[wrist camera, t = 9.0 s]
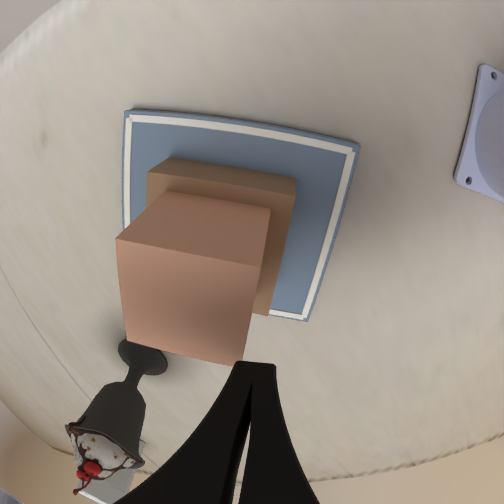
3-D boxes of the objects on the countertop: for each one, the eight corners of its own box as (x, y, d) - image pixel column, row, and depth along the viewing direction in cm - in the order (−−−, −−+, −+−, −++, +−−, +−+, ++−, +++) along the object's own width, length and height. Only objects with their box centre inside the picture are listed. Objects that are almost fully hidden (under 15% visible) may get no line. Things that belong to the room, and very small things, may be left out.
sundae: (149, 325, 24) (75, 491, 12) (189, 376, 27) (145, 525, 14) (97, 336, 26) (25, 469, 13) (137, 381, 29) (87, 506, 16)
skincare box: (101, 427, 38) (73, 490, 27) (111, 422, 36) (82, 491, 26) (134, 446, 39) (111, 509, 29) (146, 443, 38) (123, 511, 27)
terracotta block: (271, 208, 14) (260, 267, 10) (253, 295, 17) (240, 367, 12) (165, 190, 14) (115, 238, 10) (163, 277, 17) (127, 340, 13)
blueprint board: (356, 142, 16) (374, 158, 13) (307, 312, 22) (308, 353, 18) (132, 109, 16) (95, 117, 13) (132, 276, 22) (108, 310, 19)
